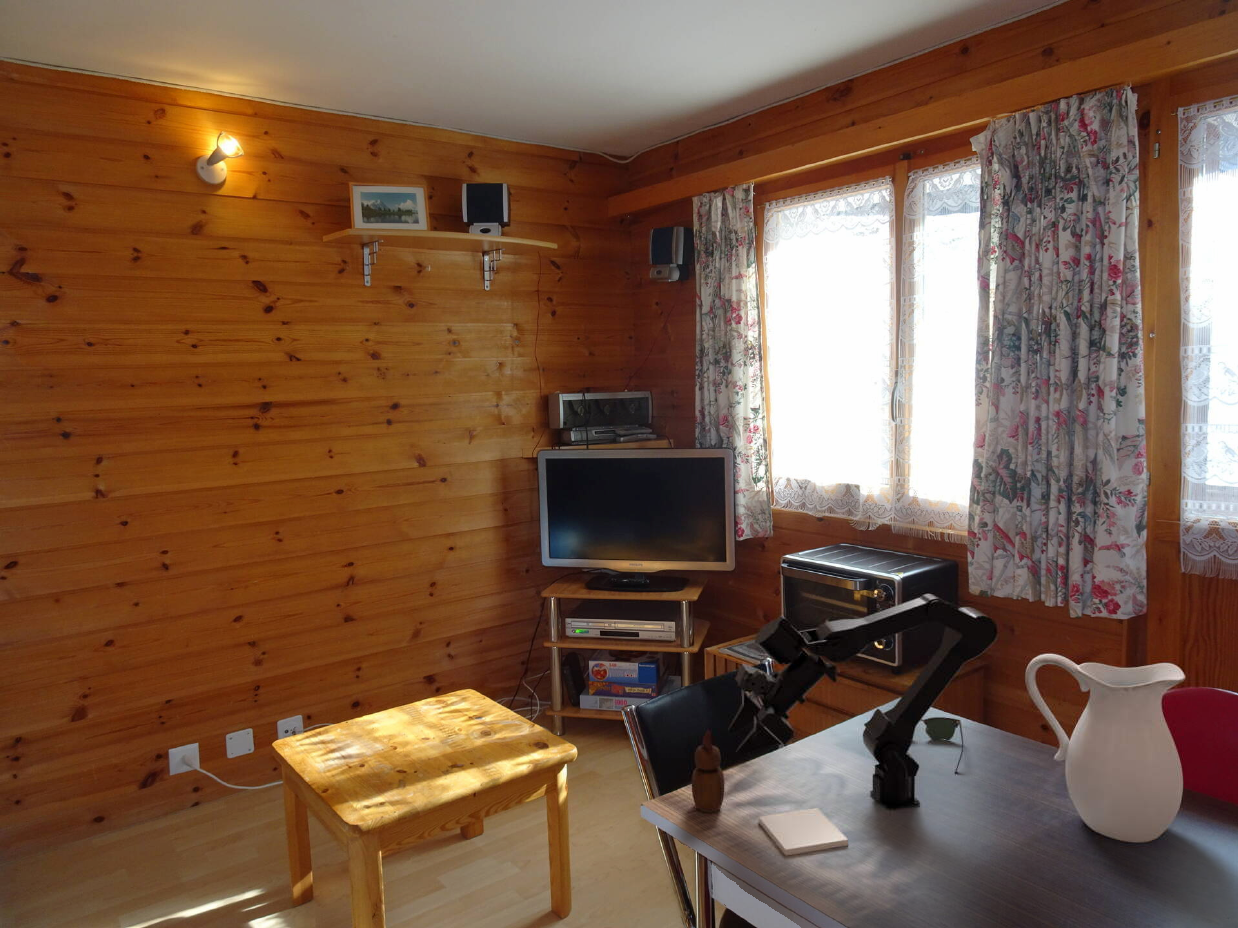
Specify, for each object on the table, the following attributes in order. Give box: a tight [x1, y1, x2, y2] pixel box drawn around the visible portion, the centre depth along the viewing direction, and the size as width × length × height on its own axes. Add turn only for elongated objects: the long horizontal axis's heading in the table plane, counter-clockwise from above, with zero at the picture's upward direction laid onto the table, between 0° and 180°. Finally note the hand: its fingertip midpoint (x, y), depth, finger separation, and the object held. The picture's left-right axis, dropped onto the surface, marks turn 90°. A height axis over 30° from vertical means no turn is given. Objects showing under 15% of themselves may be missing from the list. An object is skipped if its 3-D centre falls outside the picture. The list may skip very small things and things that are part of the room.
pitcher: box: [1024, 653, 1186, 843], centre depth 147 cm, size 24×17×28 cm
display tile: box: [758, 807, 849, 856], centre depth 146 cm, size 11×11×1 cm
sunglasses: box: [919, 716, 964, 775], centre depth 176 cm, size 16×17×5 cm
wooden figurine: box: [691, 729, 725, 813], centre depth 155 cm, size 7×6×15 cm
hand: (733, 742), depth 155 cm, fingers open, 9 cm apart
